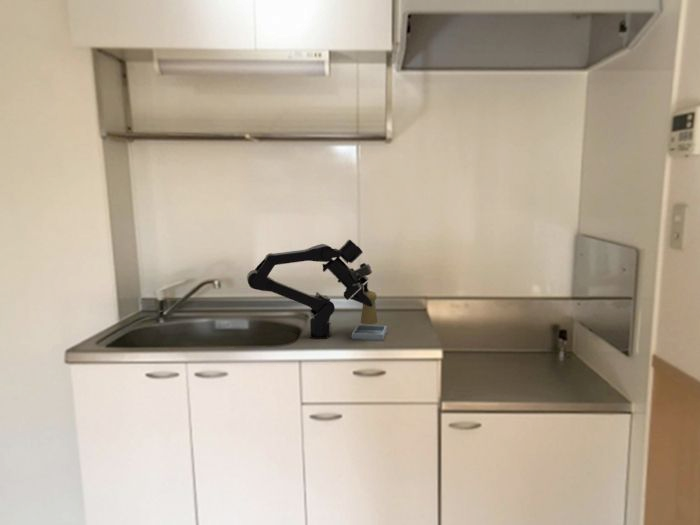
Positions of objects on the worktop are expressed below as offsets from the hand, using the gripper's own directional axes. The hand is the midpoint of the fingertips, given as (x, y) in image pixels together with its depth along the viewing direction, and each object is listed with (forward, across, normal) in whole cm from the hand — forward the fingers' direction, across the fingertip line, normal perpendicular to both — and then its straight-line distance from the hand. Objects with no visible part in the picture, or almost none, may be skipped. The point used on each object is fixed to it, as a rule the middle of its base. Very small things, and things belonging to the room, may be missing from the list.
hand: (372, 304), depth 165 cm
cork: (+4, 0, +6) cm, 7 cm away
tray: (+7, 0, +9) cm, 12 cm away
